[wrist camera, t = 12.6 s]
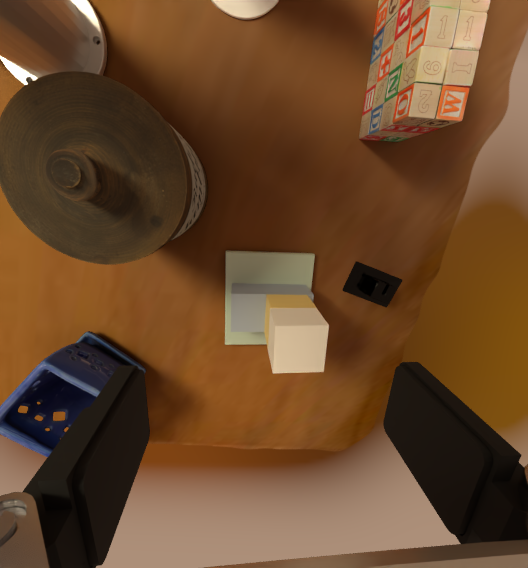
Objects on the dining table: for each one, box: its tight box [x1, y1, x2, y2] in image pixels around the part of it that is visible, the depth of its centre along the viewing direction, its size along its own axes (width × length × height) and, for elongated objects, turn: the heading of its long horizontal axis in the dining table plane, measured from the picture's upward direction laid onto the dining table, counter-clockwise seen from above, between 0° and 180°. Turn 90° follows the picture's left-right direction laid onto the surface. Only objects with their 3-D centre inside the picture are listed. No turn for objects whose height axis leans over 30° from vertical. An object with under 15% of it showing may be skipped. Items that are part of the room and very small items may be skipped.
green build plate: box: [225, 250, 315, 345], centre depth 45 cm, size 14×16×1 cm
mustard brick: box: [264, 294, 316, 348], centre depth 38 cm, size 6×6×5 cm
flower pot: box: [0, 331, 146, 457], centre depth 41 cm, size 13×13×12 cm
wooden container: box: [0, 71, 208, 265], centre depth 28 cm, size 15×15×22 cm
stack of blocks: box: [359, 0, 490, 142], centre depth 31 cm, size 21×6×12 cm, turn 177°
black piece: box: [343, 262, 402, 307], centre depth 45 cm, size 12×7×5 cm, turn 68°
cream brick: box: [268, 308, 329, 373], centre depth 33 cm, size 6×6×5 cm
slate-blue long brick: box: [231, 283, 314, 332], centre depth 42 cm, size 12×6×5 cm, turn 87°
